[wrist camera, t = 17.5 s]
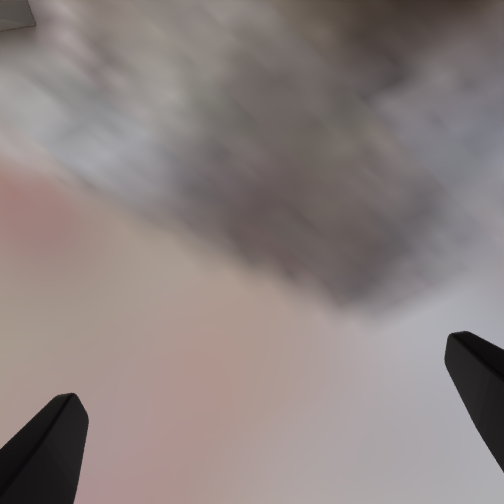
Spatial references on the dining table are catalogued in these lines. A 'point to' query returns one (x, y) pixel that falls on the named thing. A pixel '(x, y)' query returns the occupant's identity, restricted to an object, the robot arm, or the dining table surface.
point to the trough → (15, 14)
